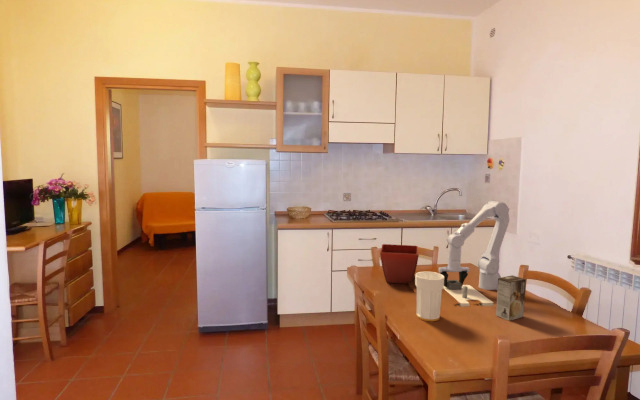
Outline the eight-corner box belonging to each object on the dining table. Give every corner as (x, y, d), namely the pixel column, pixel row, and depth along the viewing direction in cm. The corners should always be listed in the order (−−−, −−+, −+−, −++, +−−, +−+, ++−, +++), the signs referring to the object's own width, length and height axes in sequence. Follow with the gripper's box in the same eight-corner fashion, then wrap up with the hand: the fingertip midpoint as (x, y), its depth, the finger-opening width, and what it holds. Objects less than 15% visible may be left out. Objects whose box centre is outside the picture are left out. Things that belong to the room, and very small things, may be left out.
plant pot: (379, 284, 200) (379, 251, 198) (381, 273, 218) (382, 243, 216) (417, 287, 196) (418, 254, 194) (416, 275, 214) (417, 245, 212)
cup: (438, 325, 151) (440, 281, 150) (409, 318, 157) (411, 276, 155) (445, 315, 161) (447, 274, 159) (418, 309, 167) (420, 269, 165)
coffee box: (510, 311, 166) (512, 274, 164) (523, 317, 160) (526, 279, 158) (495, 315, 161) (497, 277, 160) (509, 321, 156) (511, 282, 154)
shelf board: (469, 287, 195) (469, 275, 195) (493, 306, 171) (494, 291, 171) (439, 288, 194) (440, 275, 193) (460, 306, 170) (461, 292, 170)
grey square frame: (456, 285, 193) (456, 279, 193) (461, 289, 188) (461, 283, 187) (444, 285, 193) (445, 280, 193) (449, 289, 187) (449, 283, 187)
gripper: (465, 256, 193) (463, 283, 195) (436, 256, 192) (435, 283, 194) (471, 260, 186) (470, 288, 188) (442, 260, 185) (440, 288, 187)
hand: (452, 286), depth 190 cm, fingers open, 7 cm apart
